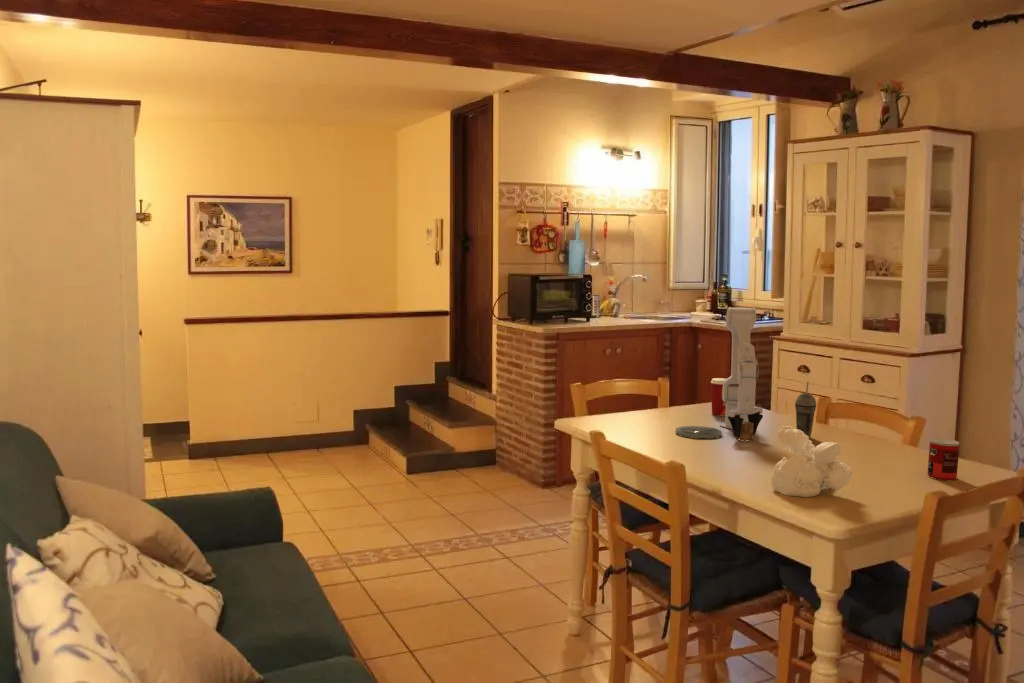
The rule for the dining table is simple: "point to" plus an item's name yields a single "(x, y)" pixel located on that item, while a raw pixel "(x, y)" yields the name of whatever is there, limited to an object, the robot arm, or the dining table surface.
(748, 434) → the walnut block
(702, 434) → the dish
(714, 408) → the paper cup
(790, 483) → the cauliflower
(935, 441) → the canned food
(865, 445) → the dining table surface
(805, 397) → the beverage cup
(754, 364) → the robot arm
